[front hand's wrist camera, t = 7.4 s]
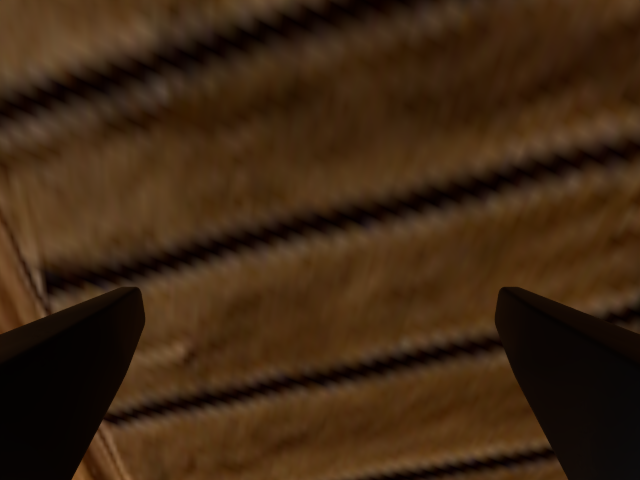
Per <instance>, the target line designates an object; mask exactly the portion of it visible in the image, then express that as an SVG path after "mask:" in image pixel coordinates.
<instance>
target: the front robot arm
mask: <svg viewBox="0 0 640 480" xmlns="http://www.w3.org/2000/svg"><path fill="white" fill-rule="evenodd" d="M144 325H145V312H144V306H143V300H142V294H141V291H140V289H139V288H138V287H121V288H118V289H115V290H113V291H110V292H108V293H105V294H103V295H100V296H98V297H95V298H92V299H90V300H87V301H85V302H82V303H80V304H77V305H75V306H72V307H69V308H67V309H64V310H62V311H59V312H57V313H54V314H52V315H49V316H46V317H44V318H41V319H39V320H36V321H34V322H31V323H29V324H26V325H23V326H21V327H18V328H16V329H13V330H11V331H8V332H6V333H3V334H0V480H72V478H73V476H74V474H75V472H76V470H77V468H78V466H79V464H80V462H81V460H82V458H83V457H84V455H85V453H86V451H87V449H88V447H89V445H90V443H91V441H92V439H93V437H94V435H95V433H96V432H97V430H98V428H99V426H100V424H101V422H102V420H103V418H104V416H105V414H106V412H107V410H108V408H109V406H110V405H111V403H112V401H113V399H114V397H115V395H116V393H117V391H118V389H119V387H120V385H121V383H122V381H123V379H124V377H125V375H126V373H127V370H128V368H129V365H130V363H131V360H132V357H133V355H134V352H135V349H136V347H137V344H138V341H139V339H140V336H141V333H142V331H143V328H144ZM495 325H496V328H497V331H498V333H499V336H500V339H501V341H502V344H503V347H504V349H505V352H506V355H507V357H508V360H509V363H510V365H511V368H512V370H513V373H514V375H515V377H516V379H517V381H518V383H519V385H520V387H521V389H522V391H523V393H524V395H525V397H526V399H527V401H528V403H529V405H530V407H531V408H532V410H533V412H534V414H535V416H536V418H537V420H538V422H539V424H540V426H541V428H542V430H543V432H544V433H545V435H546V437H547V439H548V441H549V443H550V445H551V447H552V449H553V451H554V453H555V455H556V457H557V458H558V460H559V462H560V464H561V466H562V468H563V470H564V472H565V474H566V476H567V478H568V480H640V334H637V333H634V332H632V331H629V330H627V329H624V328H622V327H619V326H617V325H614V324H611V323H609V322H606V321H604V320H601V319H599V318H596V317H594V316H591V315H588V314H586V313H583V312H581V311H578V310H576V309H573V308H571V307H568V306H565V305H563V304H560V303H558V302H555V301H553V300H550V299H548V298H545V297H542V296H540V295H537V294H535V293H532V292H530V291H527V290H525V289H522V288H519V287H502V288H501V289H500V291H499V294H498V300H497V306H496V312H495Z"/></svg>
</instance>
